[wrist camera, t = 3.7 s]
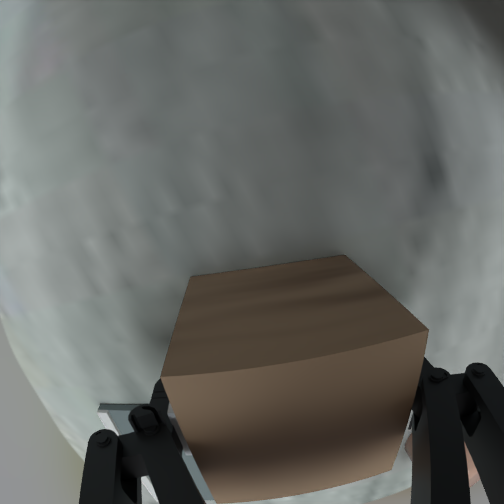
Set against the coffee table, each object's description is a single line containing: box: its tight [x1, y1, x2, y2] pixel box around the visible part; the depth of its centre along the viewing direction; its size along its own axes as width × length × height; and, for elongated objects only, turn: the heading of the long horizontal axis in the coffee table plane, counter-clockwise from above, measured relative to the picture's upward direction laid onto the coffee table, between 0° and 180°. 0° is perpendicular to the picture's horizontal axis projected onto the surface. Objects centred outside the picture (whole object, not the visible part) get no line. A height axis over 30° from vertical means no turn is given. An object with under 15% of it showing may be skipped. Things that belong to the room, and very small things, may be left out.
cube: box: [160, 255, 429, 504], centre depth 13 cm, size 8×8×8 cm
